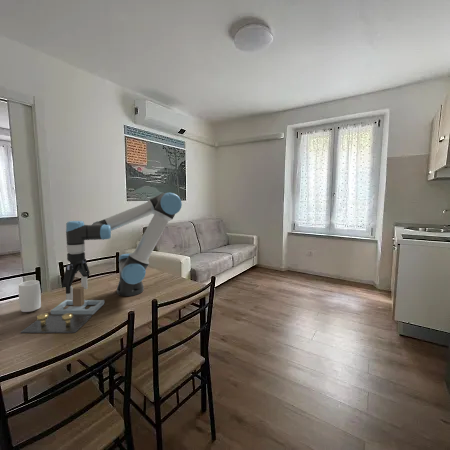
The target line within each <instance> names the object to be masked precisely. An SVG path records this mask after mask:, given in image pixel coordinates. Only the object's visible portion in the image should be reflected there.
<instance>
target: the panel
mask: <svg viewBox="0 0 450 450" xmlns="http://www.w3.org/2000/svg"><path fill="white" fill-rule="evenodd" d="M72 288H73V299H72V300H66V299H65V300H63V301H62V302H61V303H59V304H58V305H57V306H55V307H54V308H52V309H51V310H50V315H64V314H66V313H73V315H94V314H96V313H97V312H98V311H99V310H100V309H101V308H102V306H103V305H105V299H85V291H84V290H85V289H84V287H82V286H75V287H72ZM66 306H68V307H67V308H65V307H66ZM87 306H89V308H86V307H87Z"/></svg>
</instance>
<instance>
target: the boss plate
mask: <svg viewBox="0 0 450 450" xmlns="http://www.w3.org/2000/svg"><path fill="white" fill-rule="evenodd" d="M92 315H93V314H73V313H66V314H49V313H48V312H43V313H39V314H38V315H37V316H36V320H34V322H32V323H31V324H29V325H28V326H27V327H25V328H24V329H23V330H21V331H20V333H21V334H75V333H77V332H78V331H79V330H80V329H81V328H82V327H83V326H84V325H85V324H86V323H87V322H89V320H90V319H91V318H92V317H93V316H92Z"/></svg>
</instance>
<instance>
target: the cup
mask: <svg viewBox="0 0 450 450" xmlns="http://www.w3.org/2000/svg"><path fill="white" fill-rule="evenodd" d="M41 296H42V292H41V284H40V281H39V280H36V279H34V280H33V279H32V280H26V281H23V282H20V283H19V284H18V302H19V308H20V311H21V312H23V313H30V312H33V311H37V310H38V309H40V308H41V307H42V297H41Z"/></svg>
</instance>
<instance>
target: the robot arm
mask: <svg viewBox="0 0 450 450" xmlns="http://www.w3.org/2000/svg"><path fill="white" fill-rule="evenodd" d="M182 206H183V203H182V200H181V198H180V196H179V195H177V194H176V193H174V192H163V193H160V194H158V195H156V196H154V197H152V198H149V199H148V200H147V202H144V203H142V204H139V205H137V206H134V207H132V208H131V207H130V208H129V209H126V210H124V211H121V212H119V213H116V214H114V215H111V216H108V217H106V218H104V219H102V220H99V221H95V222H93V223H92V224H85V222H84V221H82V220H70V221H67V222H66V224H65V226H66V227H65V235H66V236H65V237H66V252H67V254H66V257H67V258H66V260H67V261H68V262H69V264H67V265H65V272H64V275H63V276H64V277H63V280H62V283H61V284H62V285H61V286H62V288H63V287H64V288H65V300H73V288H74V287H73V281H74V279H75V275H76V274H77V273H78V272H79V273H80V274H81V276H80V279H81V287H84V290H88V288H89V287H88V277H90V269H89V266H88V263H87V259H86V253H85V250H86V246H85V241H95V240H99V241H100V240H101V241H103V240H109V239H111V237H112V236H111V235H112V231H115V230H117V229H119V228H121V227H124V226H126V225H129V224H132V223H134V222H136V221H138V220H140V219H143V218H145V217H148V216H150V215H153V216H152V218H151V220H150V222H149V223H148V226H147V228H146V229H145V231H144V233H143V235H142V236H141V238H140V240H139V242H138V244H137V245H136V248H135V250H134V251H133V252H131V253H124V254H123V253H122V254H120V255H119V256H118V262H119V263H118V268H119V272H118V273H119V281H118V284H117V287H116V294H117V295H118V296H120V297H121V296H122V297H132V296H137V295H140V294H142V293H143V292H144V283H143V280H144V279H145V276H146V273H147V272H146V270H147V268H148V267H149V266H150V265H149V264H150V262H149V258H150V257H151V254H152V253H153V252H154V249H155V247H156V246H157V244H158V242H159V240H160V238H161V236H162V234H163V232H164V231H165V228H166V227H167V225H168V223H169V222H170V221H173V219H174V218H175V215H177V214H178V213H179V212H180V211H181V208H182Z"/></svg>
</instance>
